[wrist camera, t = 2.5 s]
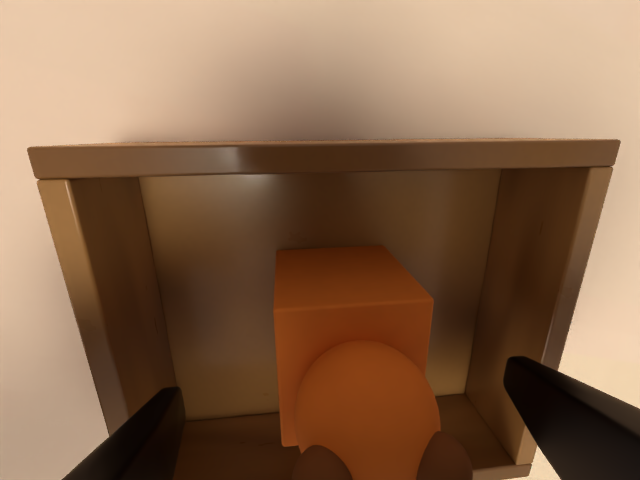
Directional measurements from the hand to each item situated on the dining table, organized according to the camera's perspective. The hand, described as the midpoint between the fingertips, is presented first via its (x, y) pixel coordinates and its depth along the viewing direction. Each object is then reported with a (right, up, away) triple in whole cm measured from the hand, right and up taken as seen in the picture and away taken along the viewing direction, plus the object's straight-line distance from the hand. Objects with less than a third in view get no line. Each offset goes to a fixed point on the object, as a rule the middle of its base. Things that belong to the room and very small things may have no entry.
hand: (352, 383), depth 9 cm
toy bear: (0, +1, +4) cm, 5 cm away
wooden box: (0, +2, +5) cm, 5 cm away
